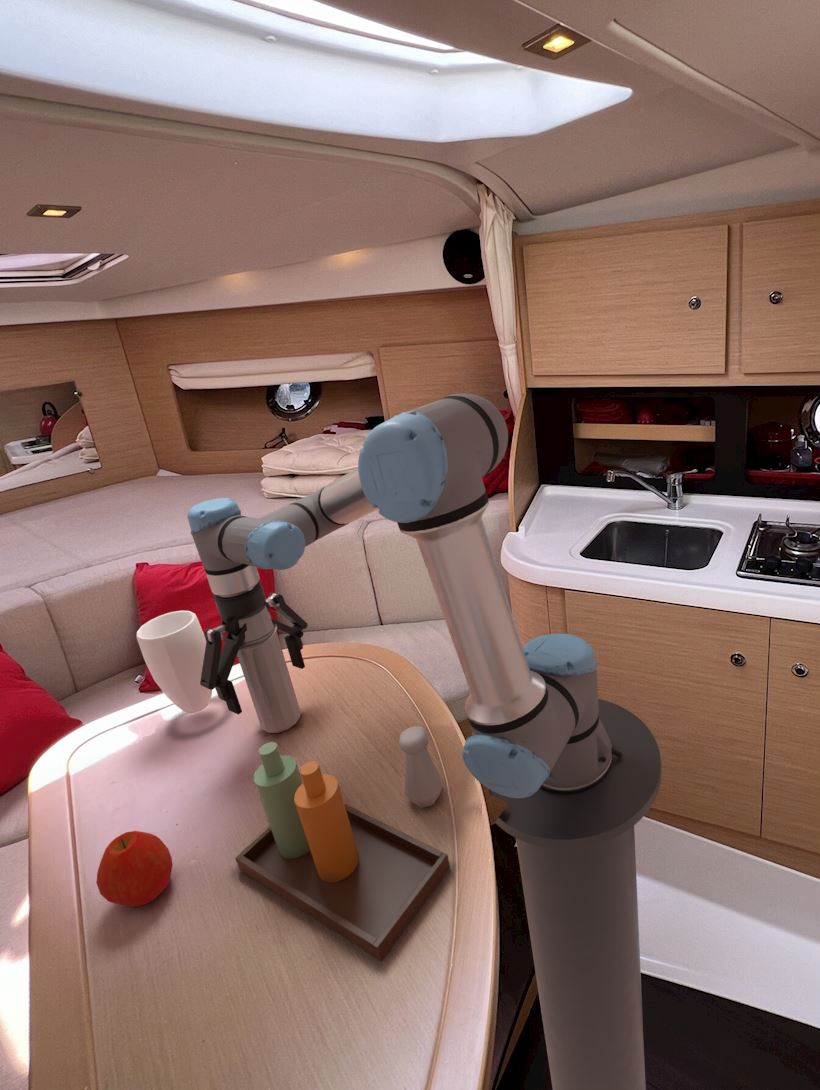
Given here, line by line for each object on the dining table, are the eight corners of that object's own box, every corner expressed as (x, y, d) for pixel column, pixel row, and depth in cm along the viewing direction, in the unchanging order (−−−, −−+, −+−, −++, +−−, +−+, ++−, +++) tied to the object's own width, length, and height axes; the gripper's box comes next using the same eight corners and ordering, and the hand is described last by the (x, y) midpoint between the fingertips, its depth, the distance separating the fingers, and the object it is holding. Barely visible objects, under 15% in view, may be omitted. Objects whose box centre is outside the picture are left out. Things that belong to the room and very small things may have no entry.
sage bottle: (320, 821, 93) (292, 729, 86) (316, 852, 87) (285, 757, 81) (282, 830, 91) (250, 738, 85) (275, 863, 86) (241, 768, 80)
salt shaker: (404, 814, 93) (388, 749, 88) (411, 784, 98) (396, 721, 94) (441, 810, 93) (428, 745, 88) (446, 781, 98) (434, 718, 94)
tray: (450, 867, 84) (447, 854, 83) (381, 961, 73) (377, 948, 72) (315, 799, 97) (311, 787, 96) (239, 870, 86) (234, 858, 85)
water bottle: (265, 713, 118) (229, 603, 108) (307, 705, 119) (275, 596, 110) (252, 747, 109) (212, 631, 100) (297, 738, 111) (261, 623, 101)
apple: (102, 930, 80) (71, 874, 76) (125, 874, 87) (98, 821, 83) (170, 910, 82) (143, 855, 78) (187, 857, 89) (164, 804, 85)
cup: (233, 693, 124) (201, 603, 116) (228, 725, 115) (194, 630, 107) (176, 709, 121) (139, 618, 113) (167, 743, 112) (126, 647, 104)
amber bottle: (360, 841, 89) (333, 747, 82) (358, 876, 83) (329, 778, 77) (320, 852, 87) (289, 757, 81) (315, 887, 82) (283, 789, 76)
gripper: (283, 552, 115) (309, 645, 123) (150, 620, 95) (191, 726, 103) (310, 558, 111) (335, 654, 119) (178, 630, 91) (218, 739, 99)
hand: (268, 687), depth 111 cm, fingers open, 13 cm apart
